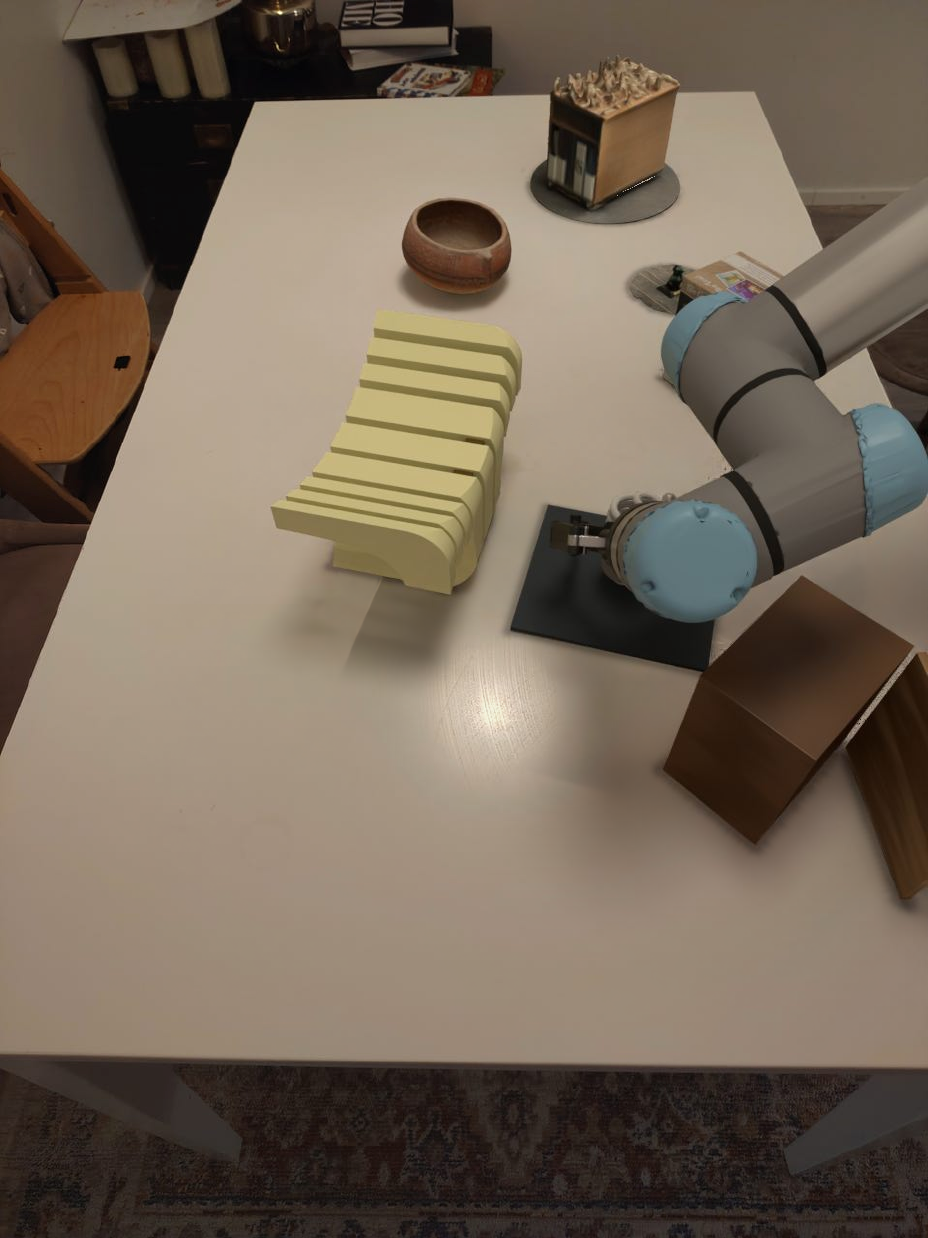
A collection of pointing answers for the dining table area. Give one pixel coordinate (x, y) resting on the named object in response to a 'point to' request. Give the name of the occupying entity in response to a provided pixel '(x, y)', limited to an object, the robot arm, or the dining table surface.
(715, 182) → the dining table surface
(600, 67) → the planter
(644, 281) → the sculpture
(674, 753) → the cupboard
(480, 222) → the bowl
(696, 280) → the tea box
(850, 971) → the dining table surface
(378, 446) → the slatted curved stool
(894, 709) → the cupboard door
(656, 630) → the mat
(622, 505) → the light bulb
